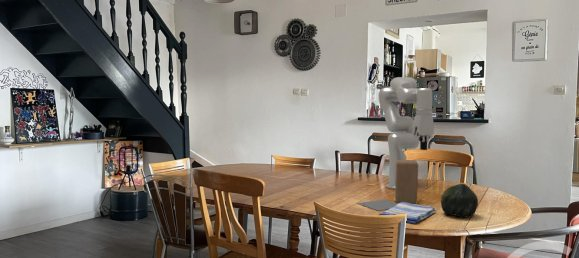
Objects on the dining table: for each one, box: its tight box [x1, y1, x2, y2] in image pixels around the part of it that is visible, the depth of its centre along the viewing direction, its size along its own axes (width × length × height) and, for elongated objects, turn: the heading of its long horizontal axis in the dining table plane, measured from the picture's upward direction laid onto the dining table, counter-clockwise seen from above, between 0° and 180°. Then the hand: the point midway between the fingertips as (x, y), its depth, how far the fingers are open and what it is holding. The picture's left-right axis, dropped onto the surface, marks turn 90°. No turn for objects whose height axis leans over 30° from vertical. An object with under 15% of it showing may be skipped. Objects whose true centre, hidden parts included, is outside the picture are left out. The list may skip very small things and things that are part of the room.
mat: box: [356, 199, 399, 212], centre depth 205 cm, size 17×16×1 cm
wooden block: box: [394, 159, 419, 205], centre depth 211 cm, size 10×10×20 cm
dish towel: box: [378, 202, 437, 225], centre depth 186 cm, size 17×24×3 cm
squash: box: [440, 183, 479, 218], centre depth 186 cm, size 14×15×15 cm
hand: (423, 149), depth 215 cm, fingers closed
